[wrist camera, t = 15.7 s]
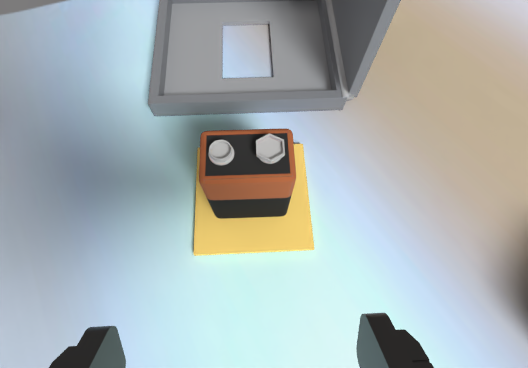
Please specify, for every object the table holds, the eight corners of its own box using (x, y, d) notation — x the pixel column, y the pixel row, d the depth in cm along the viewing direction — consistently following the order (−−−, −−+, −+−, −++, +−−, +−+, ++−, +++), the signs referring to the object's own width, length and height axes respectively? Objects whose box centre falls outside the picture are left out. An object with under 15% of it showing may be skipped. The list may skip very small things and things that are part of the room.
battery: (286, 217, 29) (299, 175, 20) (215, 220, 29) (194, 178, 20) (283, 175, 31) (294, 118, 22) (216, 177, 31) (197, 121, 22)
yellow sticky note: (313, 250, 29) (314, 248, 28) (194, 255, 29) (193, 254, 28) (302, 146, 33) (302, 143, 32) (198, 150, 33) (197, 147, 32)
